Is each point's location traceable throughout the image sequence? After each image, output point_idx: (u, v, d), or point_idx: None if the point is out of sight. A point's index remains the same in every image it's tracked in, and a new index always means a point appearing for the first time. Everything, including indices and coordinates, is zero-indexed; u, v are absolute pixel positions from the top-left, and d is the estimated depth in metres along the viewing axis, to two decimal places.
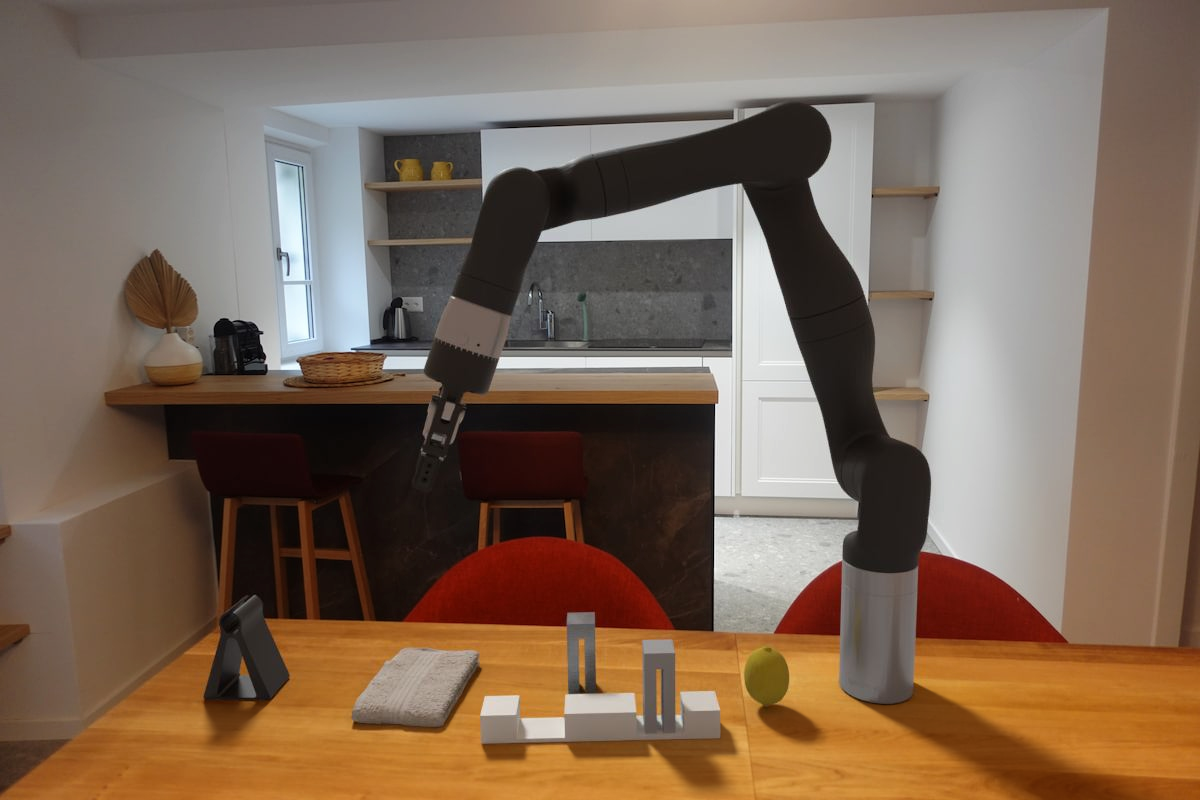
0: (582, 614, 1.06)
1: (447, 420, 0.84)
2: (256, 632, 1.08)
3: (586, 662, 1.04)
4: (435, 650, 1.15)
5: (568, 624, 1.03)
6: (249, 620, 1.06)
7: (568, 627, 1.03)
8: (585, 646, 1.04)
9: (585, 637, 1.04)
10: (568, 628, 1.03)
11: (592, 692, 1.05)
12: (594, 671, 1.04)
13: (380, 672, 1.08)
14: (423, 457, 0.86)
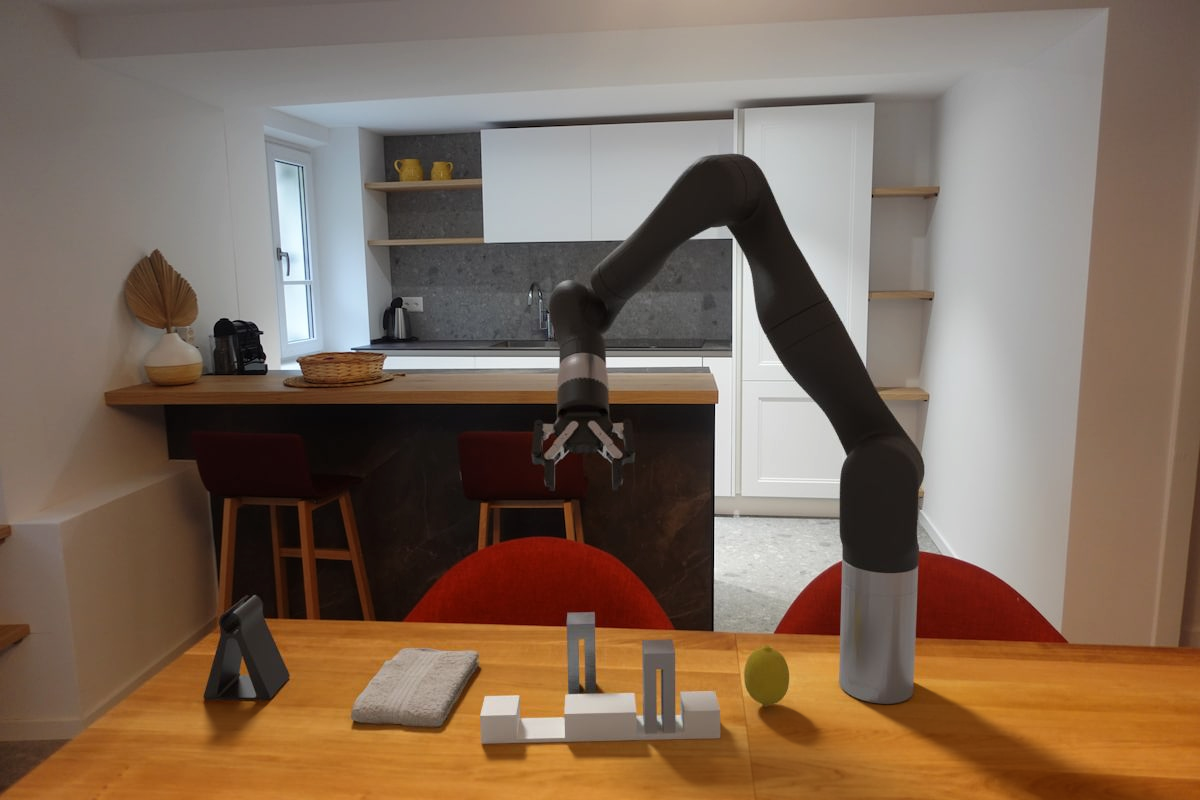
0: (582, 614, 1.06)
1: None
2: (256, 632, 1.08)
3: (586, 662, 1.04)
4: (435, 650, 1.15)
5: (568, 624, 1.03)
6: (249, 620, 1.06)
7: (568, 627, 1.03)
8: (585, 646, 1.04)
9: (585, 637, 1.04)
10: (568, 628, 1.03)
11: (592, 692, 1.05)
12: (594, 671, 1.04)
13: (380, 672, 1.08)
14: None
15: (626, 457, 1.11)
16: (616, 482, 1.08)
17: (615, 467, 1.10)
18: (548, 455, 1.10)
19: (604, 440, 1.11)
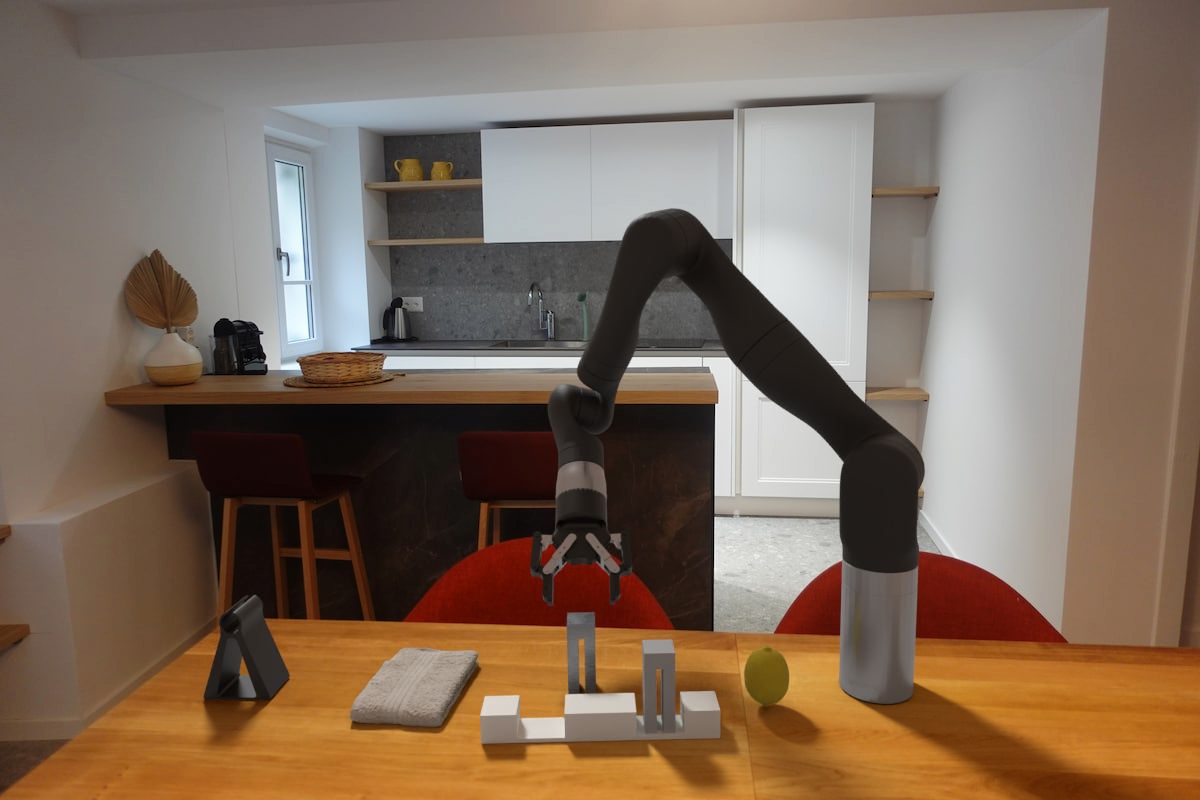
0: (582, 614, 1.06)
1: None
2: (256, 632, 1.08)
3: (586, 662, 1.04)
4: (434, 650, 1.15)
5: (568, 624, 1.03)
6: (249, 620, 1.06)
7: (568, 627, 1.03)
8: (585, 646, 1.04)
9: (585, 637, 1.04)
10: (568, 628, 1.03)
11: (592, 692, 1.05)
12: (594, 671, 1.04)
13: (379, 672, 1.08)
14: None
15: (623, 571, 1.12)
16: (613, 598, 1.10)
17: (612, 582, 1.11)
18: (546, 570, 1.12)
19: (602, 554, 1.13)
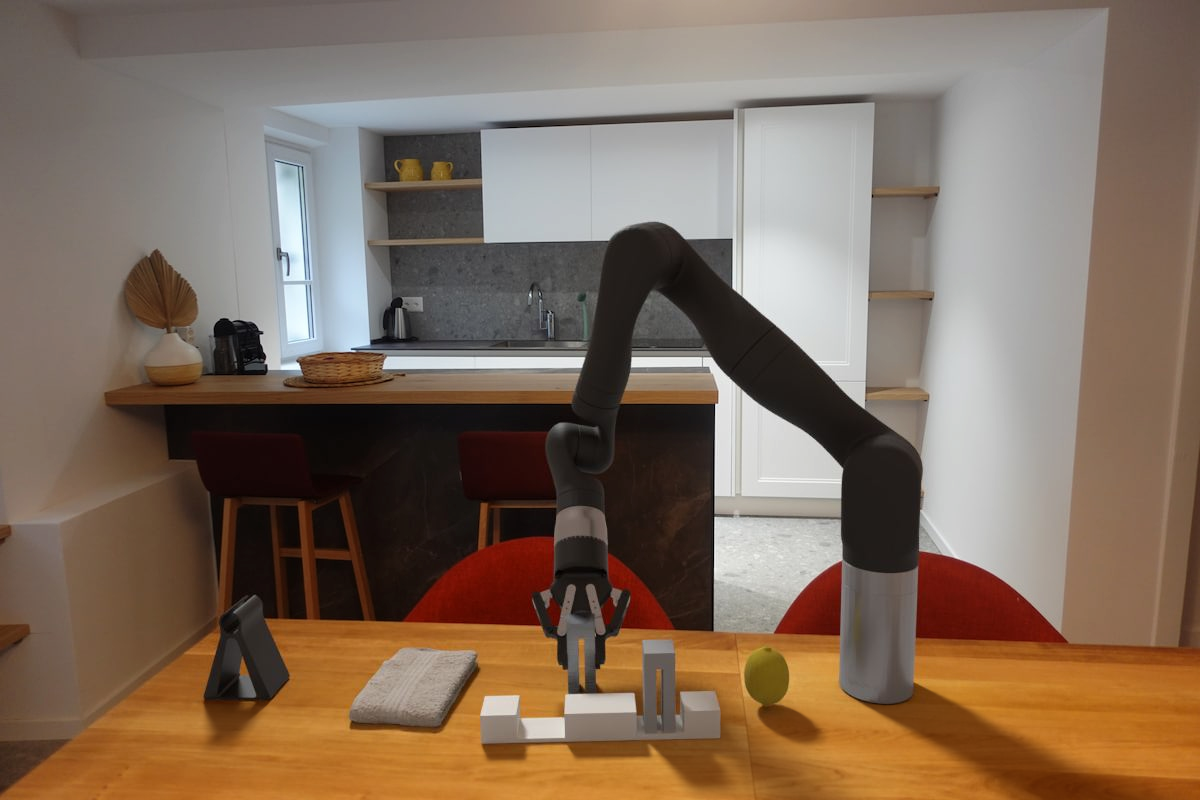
0: (582, 614, 1.06)
1: None
2: (256, 632, 1.08)
3: (586, 662, 1.04)
4: (434, 650, 1.15)
5: (568, 624, 1.03)
6: (249, 620, 1.06)
7: (568, 627, 1.03)
8: (585, 646, 1.04)
9: (584, 637, 1.04)
10: (568, 628, 1.03)
11: (592, 692, 1.05)
12: (594, 671, 1.04)
13: (378, 672, 1.08)
14: None
15: (609, 632, 1.06)
16: (598, 663, 1.03)
17: (597, 645, 1.05)
18: (561, 631, 1.05)
19: (594, 610, 1.07)
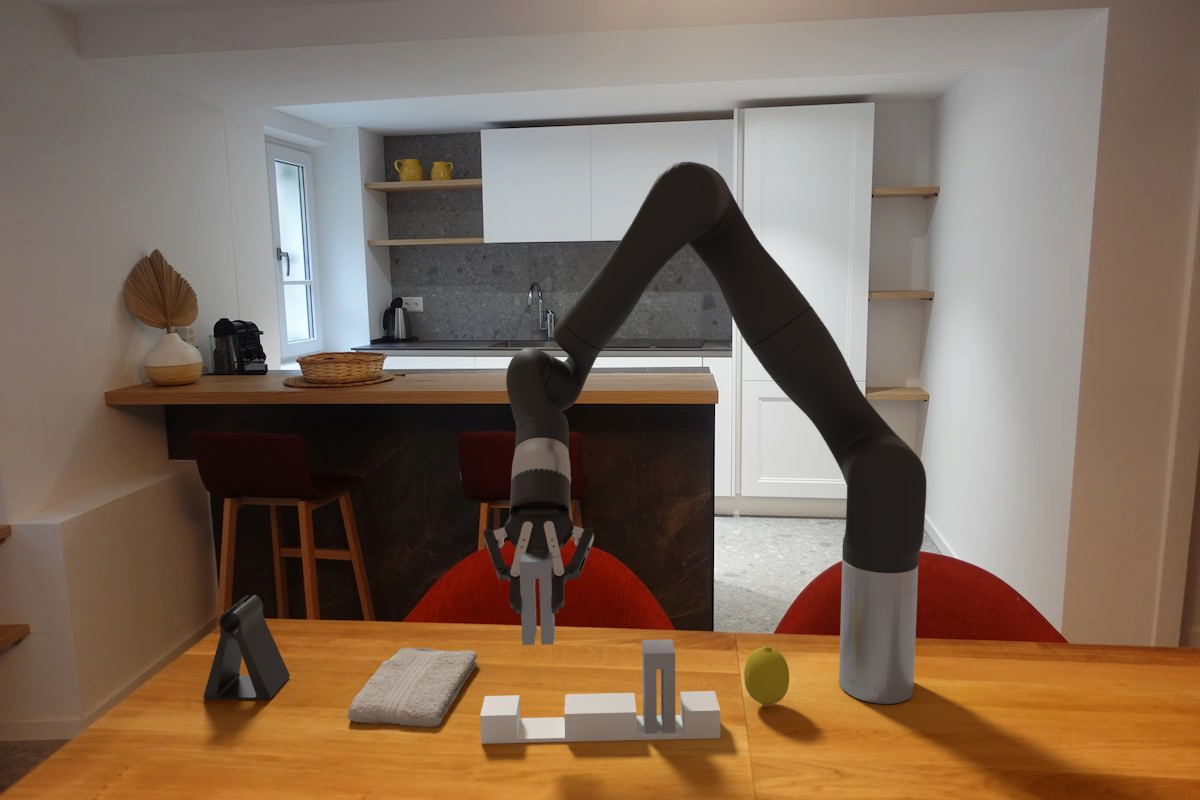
0: (538, 553, 0.95)
1: None
2: (256, 632, 1.08)
3: (542, 605, 0.93)
4: (433, 650, 1.15)
5: (521, 562, 0.92)
6: (249, 620, 1.06)
7: (522, 565, 0.92)
8: (540, 587, 0.93)
9: (540, 577, 0.93)
10: (521, 567, 0.92)
11: (549, 639, 0.94)
12: (551, 615, 0.93)
13: (378, 672, 1.08)
14: None
15: (569, 573, 0.95)
16: (555, 606, 0.92)
17: (555, 587, 0.93)
18: (515, 571, 0.94)
19: (552, 549, 0.96)
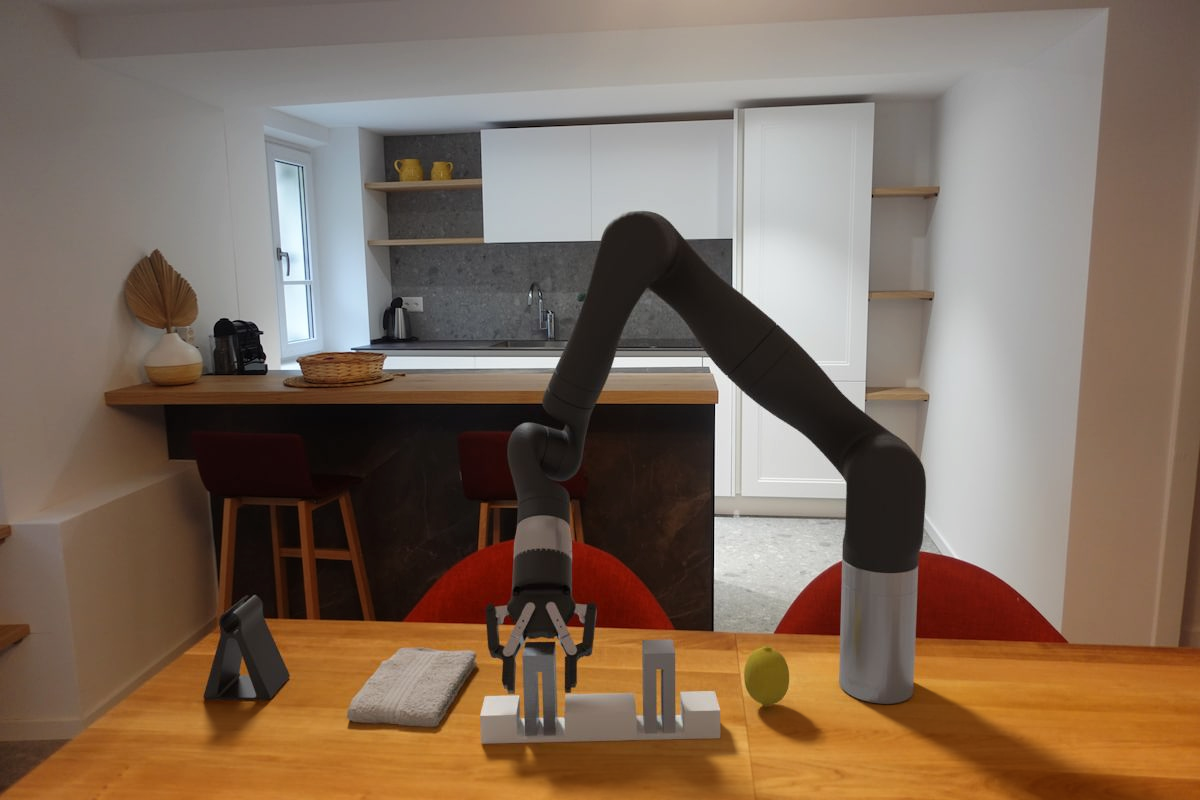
0: (541, 644, 0.97)
1: None
2: (256, 632, 1.08)
3: (544, 697, 0.95)
4: (432, 650, 1.15)
5: (524, 655, 0.94)
6: (249, 620, 1.06)
7: (524, 659, 0.94)
8: (543, 680, 0.94)
9: (542, 670, 0.94)
10: (524, 660, 0.94)
11: (551, 731, 0.95)
12: (553, 707, 0.95)
13: (377, 672, 1.08)
14: None
15: (581, 652, 0.96)
16: (568, 687, 0.94)
17: (568, 667, 0.95)
18: (507, 651, 0.96)
19: (560, 629, 0.97)
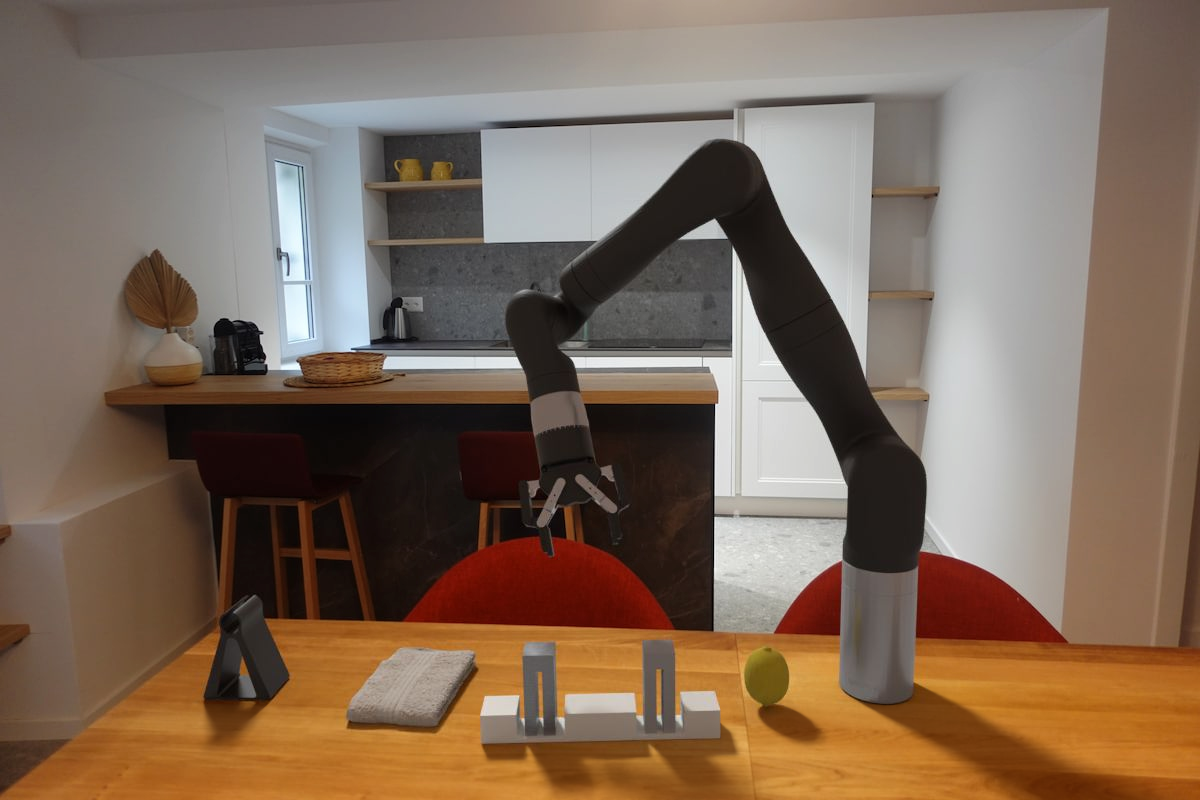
0: (541, 644, 0.97)
1: None
2: (256, 632, 1.08)
3: (544, 697, 0.95)
4: (432, 649, 1.15)
5: (524, 655, 0.94)
6: (249, 620, 1.06)
7: (524, 659, 0.94)
8: (543, 680, 0.94)
9: (542, 670, 0.94)
10: (524, 660, 0.94)
11: (551, 731, 0.95)
12: (553, 707, 0.95)
13: (376, 672, 1.08)
14: None
15: (621, 508, 1.06)
16: (616, 541, 1.05)
17: (612, 524, 1.05)
18: (541, 523, 1.05)
19: (595, 495, 1.05)
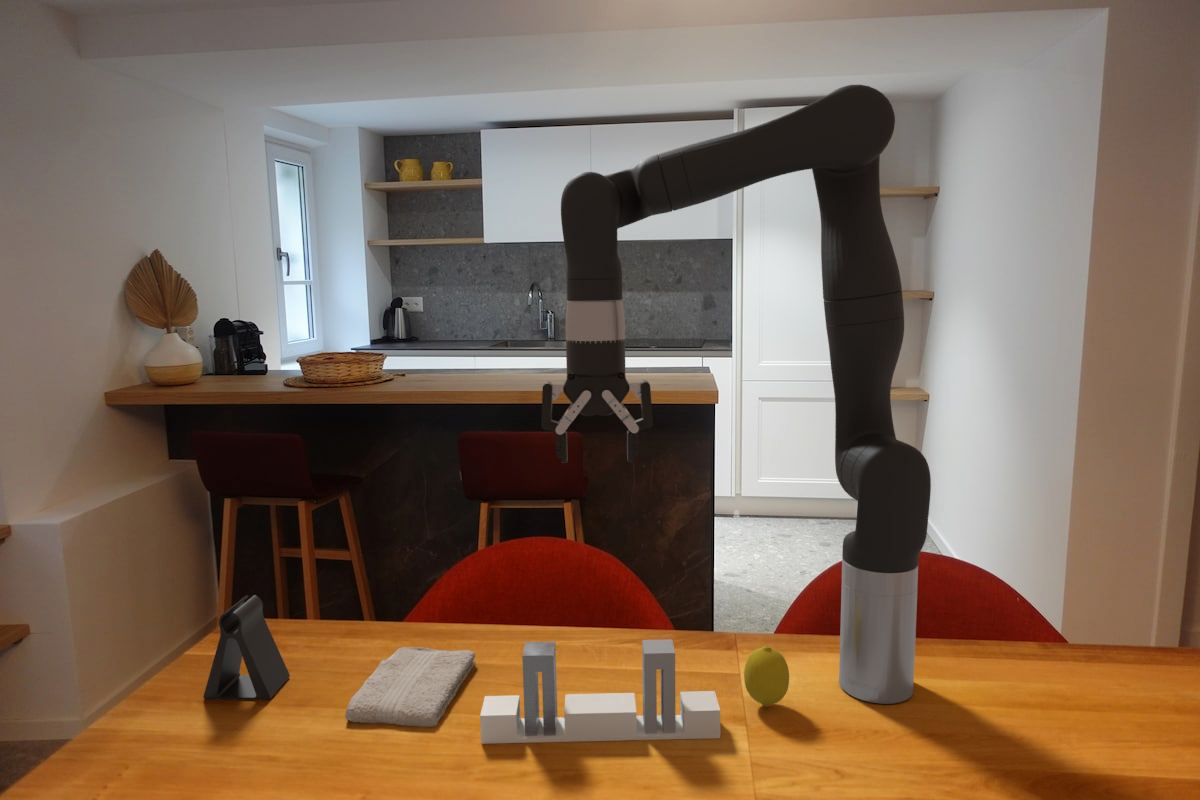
0: (541, 644, 0.97)
1: None
2: (256, 632, 1.08)
3: (544, 697, 0.95)
4: (431, 649, 1.15)
5: (524, 655, 0.94)
6: (249, 620, 1.06)
7: (524, 659, 0.94)
8: (543, 680, 0.94)
9: (542, 670, 0.94)
10: (524, 660, 0.94)
11: (551, 731, 0.95)
12: (553, 707, 0.95)
13: (375, 671, 1.08)
14: None
15: (643, 428, 1.04)
16: (631, 460, 1.04)
17: (631, 443, 1.04)
18: (559, 430, 1.03)
19: (619, 413, 1.03)
